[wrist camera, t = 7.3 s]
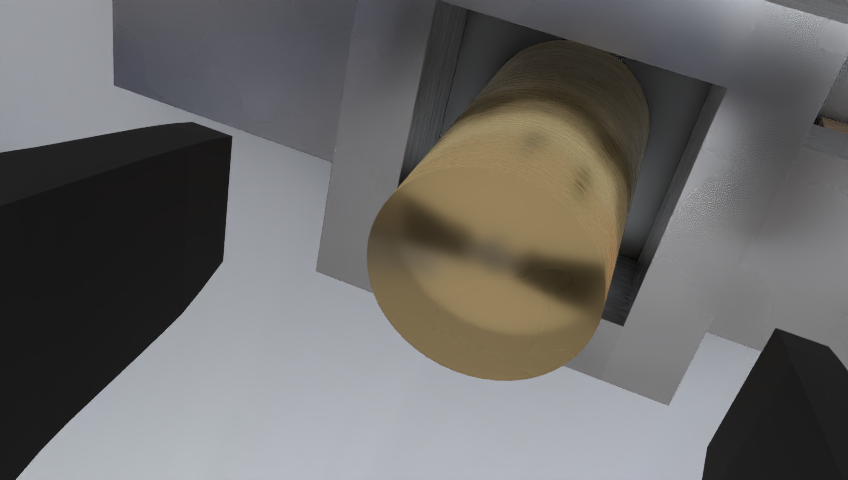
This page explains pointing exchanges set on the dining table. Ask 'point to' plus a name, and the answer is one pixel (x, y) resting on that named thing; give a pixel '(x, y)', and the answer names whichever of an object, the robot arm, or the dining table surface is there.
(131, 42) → the chain
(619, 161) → the brass pin
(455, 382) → the dining table surface
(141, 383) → the dining table surface
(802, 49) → the chain
